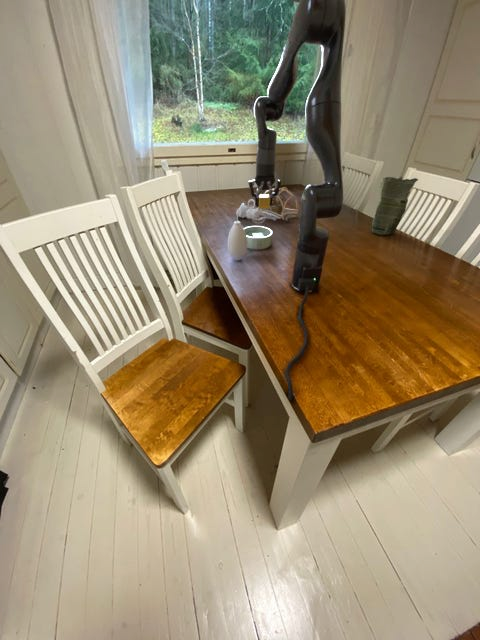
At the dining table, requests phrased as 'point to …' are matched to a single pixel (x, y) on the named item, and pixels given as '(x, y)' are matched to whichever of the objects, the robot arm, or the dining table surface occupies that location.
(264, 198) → the mustard cube
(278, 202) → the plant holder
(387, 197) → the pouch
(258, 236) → the blue cube
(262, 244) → the bowl
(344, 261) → the dining table surface
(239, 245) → the sauce bottle
